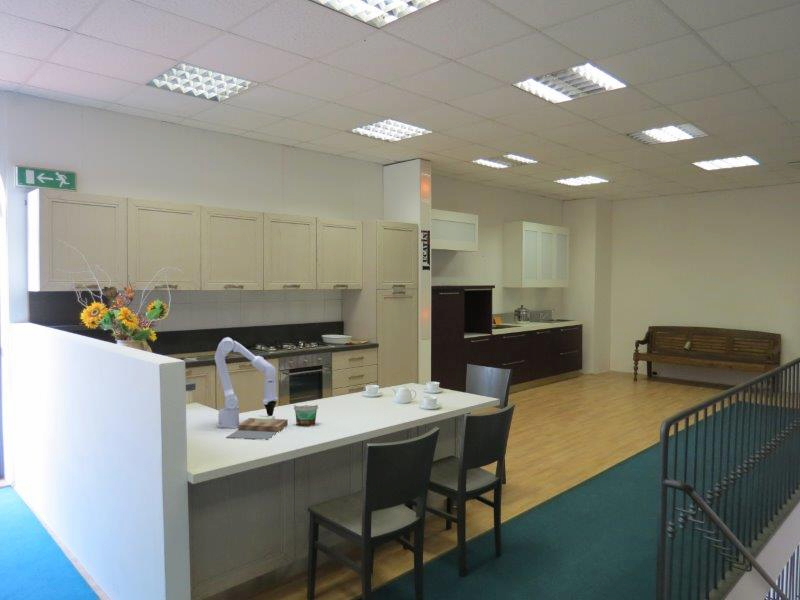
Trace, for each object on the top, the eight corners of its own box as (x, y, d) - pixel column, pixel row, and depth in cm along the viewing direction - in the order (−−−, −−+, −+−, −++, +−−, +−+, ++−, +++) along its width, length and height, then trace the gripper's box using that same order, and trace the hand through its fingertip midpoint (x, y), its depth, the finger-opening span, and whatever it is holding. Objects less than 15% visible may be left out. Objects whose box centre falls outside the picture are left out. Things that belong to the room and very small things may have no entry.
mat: (226, 438, 257) (226, 437, 257) (237, 431, 269) (237, 430, 269) (267, 440, 255) (267, 439, 255) (277, 433, 266) (277, 432, 266)
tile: (254, 422, 275) (254, 418, 275) (259, 419, 281) (259, 415, 281) (270, 423, 274) (270, 418, 274) (274, 420, 280) (274, 416, 279)
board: (237, 431, 270) (237, 424, 270) (249, 423, 284) (249, 417, 283) (277, 432, 267) (277, 426, 267) (287, 425, 281) (287, 419, 281)
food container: (293, 427, 277) (293, 407, 277) (293, 424, 283) (293, 404, 283) (318, 426, 280) (318, 406, 279) (318, 423, 286) (318, 403, 285)
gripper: (272, 392, 276) (272, 419, 276) (282, 386, 290) (282, 412, 291) (258, 391, 277) (258, 418, 277) (269, 386, 291) (269, 412, 292)
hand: (270, 415), depth 284 cm, fingers closed
